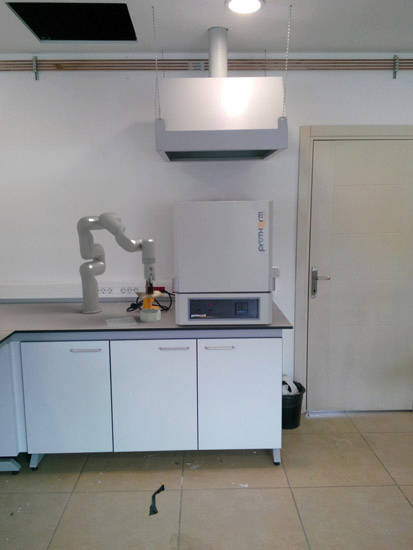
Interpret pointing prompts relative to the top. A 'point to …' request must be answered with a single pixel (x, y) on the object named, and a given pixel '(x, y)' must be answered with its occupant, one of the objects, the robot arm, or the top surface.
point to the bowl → (150, 315)
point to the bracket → (149, 303)
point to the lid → (149, 295)
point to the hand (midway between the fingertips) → (149, 291)
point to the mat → (120, 322)
